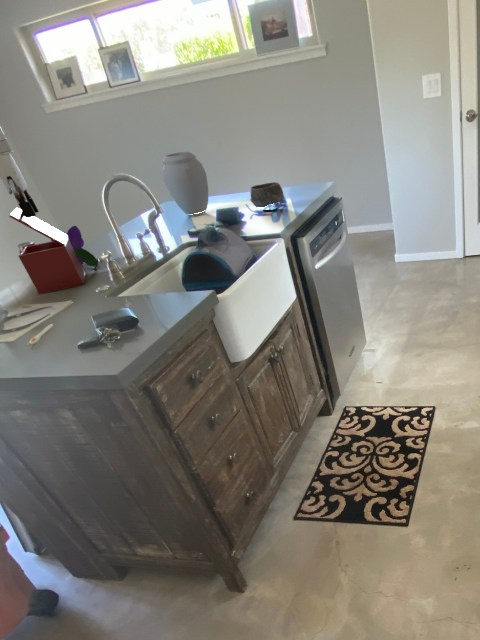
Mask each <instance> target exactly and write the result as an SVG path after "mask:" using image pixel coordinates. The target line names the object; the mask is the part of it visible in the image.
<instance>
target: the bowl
mask: <svg viewBox="0 0 480 640" xmlns="http://www.w3.org/2000/svg"><path fill="white" fill-rule="evenodd" d="M249 192H250V198H249V199H250V200H249V201H250V202H251V203H252V204H253V206H254V207H256V208H257V207H265V206H267V205H269V204H273V203H277V202H280V201H283V202H284V197H285V196H284V191H283V187H282V186H281V184H280V183H279V182H276V181H274V182H267V183H263V184H256V185H252V186H251V187H250V191H249Z"/></svg>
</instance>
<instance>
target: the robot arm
mask: <svg viewBox="0 0 480 640" xmlns="http://www.w3.org/2000/svg"><path fill="white" fill-rule="evenodd" d="M12 153H14V149H13V148H12V146H11V144H10V142H9V141H8V138H7V137H6V135H5V132H4V131H3V129H2V127H1V126H0V182H1V183H2V185H3V187H4V189H5V191H6V193H7V194H8V195H12V194H13V195H14V198H15V200H16V203H17V204H18V206H19V209H21V210H22V212H23V214H24V216H25V217H26V218H29V217H33V216H34V217H36V216H37V214H36V213H39V208H38V206H37V204H36V203H35V201H34V199H33V198H32V196H31V194H30V192H29V190H28V184H27V182H26V179H25V178H24V175H23V174H22V172H21V170H20V168H19V167H18V164H17V162H16V161H15V159H14V157H13V155H12Z"/></svg>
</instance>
